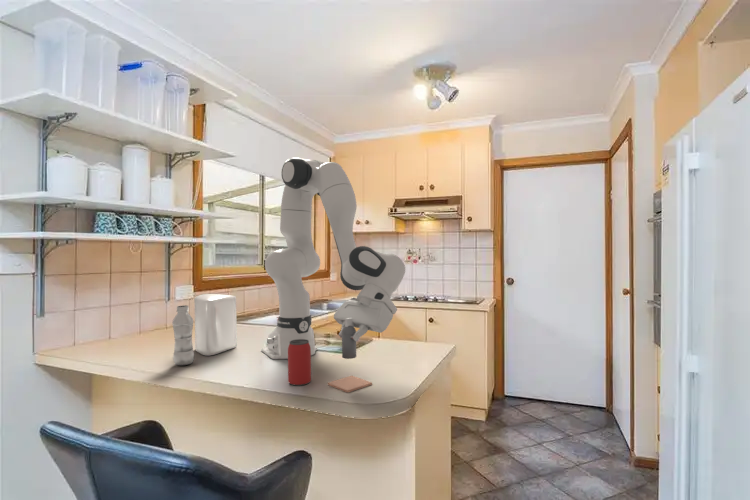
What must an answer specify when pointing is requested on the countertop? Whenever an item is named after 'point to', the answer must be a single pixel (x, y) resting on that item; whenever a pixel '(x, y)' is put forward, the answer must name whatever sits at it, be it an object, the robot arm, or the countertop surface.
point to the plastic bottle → (183, 336)
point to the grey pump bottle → (348, 340)
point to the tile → (349, 383)
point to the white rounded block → (215, 323)
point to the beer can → (299, 362)
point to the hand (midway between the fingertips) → (347, 338)
